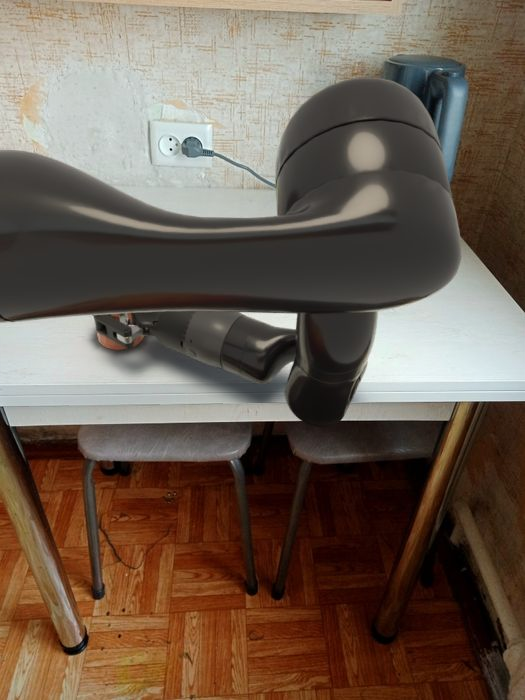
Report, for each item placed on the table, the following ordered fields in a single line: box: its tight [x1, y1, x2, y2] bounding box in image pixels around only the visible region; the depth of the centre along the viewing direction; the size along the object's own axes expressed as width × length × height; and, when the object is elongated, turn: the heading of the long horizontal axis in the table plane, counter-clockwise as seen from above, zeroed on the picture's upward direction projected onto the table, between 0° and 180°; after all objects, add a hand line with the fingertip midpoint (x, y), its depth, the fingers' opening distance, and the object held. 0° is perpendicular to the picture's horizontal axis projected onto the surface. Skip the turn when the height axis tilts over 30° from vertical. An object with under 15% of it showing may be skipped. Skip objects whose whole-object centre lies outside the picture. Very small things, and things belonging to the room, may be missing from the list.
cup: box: [93, 313, 145, 351], centre depth 69 cm, size 6×6×9 cm
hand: (102, 288), depth 68 cm, fingers closed on cup, 6 cm apart
